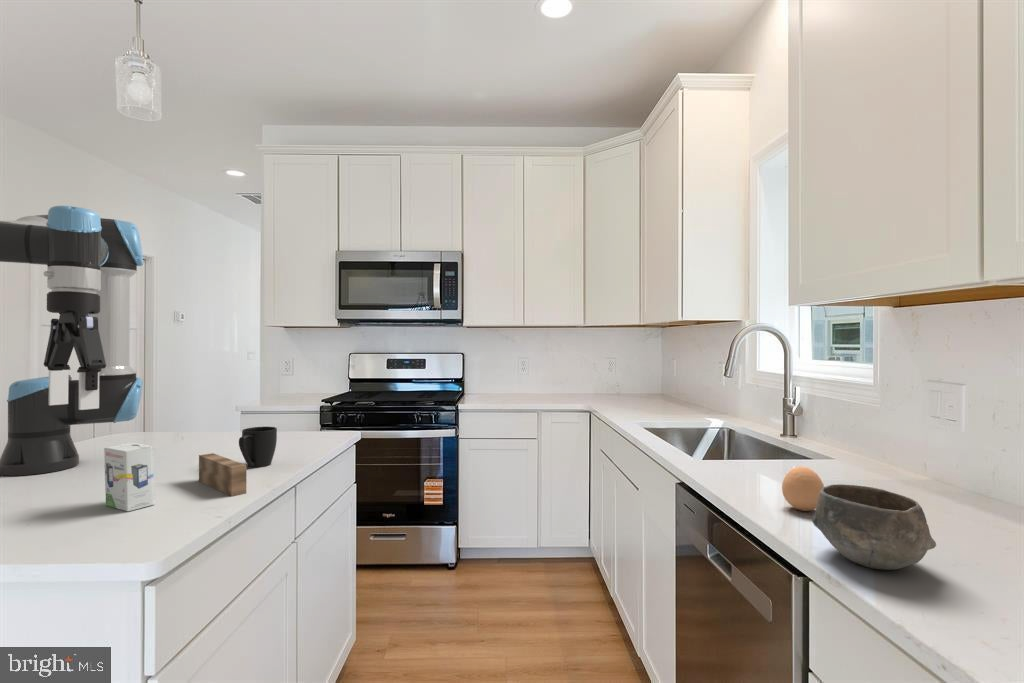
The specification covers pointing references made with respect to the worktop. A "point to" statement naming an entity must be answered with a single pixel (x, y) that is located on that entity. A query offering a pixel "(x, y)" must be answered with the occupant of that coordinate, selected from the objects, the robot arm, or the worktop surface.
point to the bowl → (873, 526)
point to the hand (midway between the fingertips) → (73, 406)
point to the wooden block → (222, 474)
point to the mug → (258, 445)
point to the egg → (802, 488)
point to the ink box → (129, 476)
